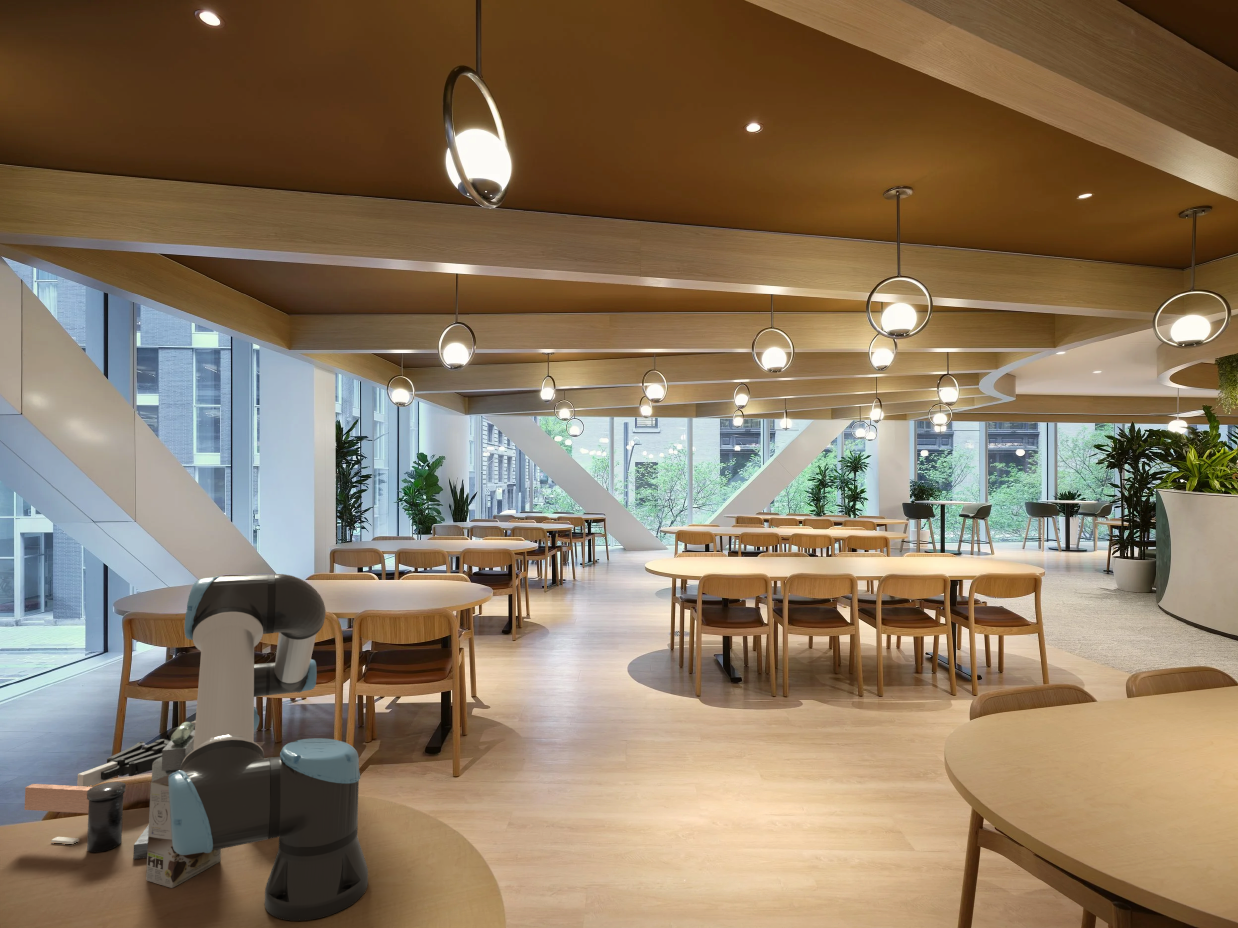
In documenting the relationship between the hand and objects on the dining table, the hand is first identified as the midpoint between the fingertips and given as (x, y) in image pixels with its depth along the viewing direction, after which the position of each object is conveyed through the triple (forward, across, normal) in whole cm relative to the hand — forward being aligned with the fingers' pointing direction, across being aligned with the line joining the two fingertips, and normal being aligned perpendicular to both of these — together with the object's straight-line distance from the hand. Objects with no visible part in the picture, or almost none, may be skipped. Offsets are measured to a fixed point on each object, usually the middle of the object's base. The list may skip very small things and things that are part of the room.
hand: (80, 781), depth 133 cm
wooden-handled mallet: (+5, -6, -8) cm, 11 cm away
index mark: (+5, -4, -8) cm, 11 cm away
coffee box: (+4, -33, -8) cm, 34 cm away
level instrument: (-3, -22, -8) cm, 24 cm away
